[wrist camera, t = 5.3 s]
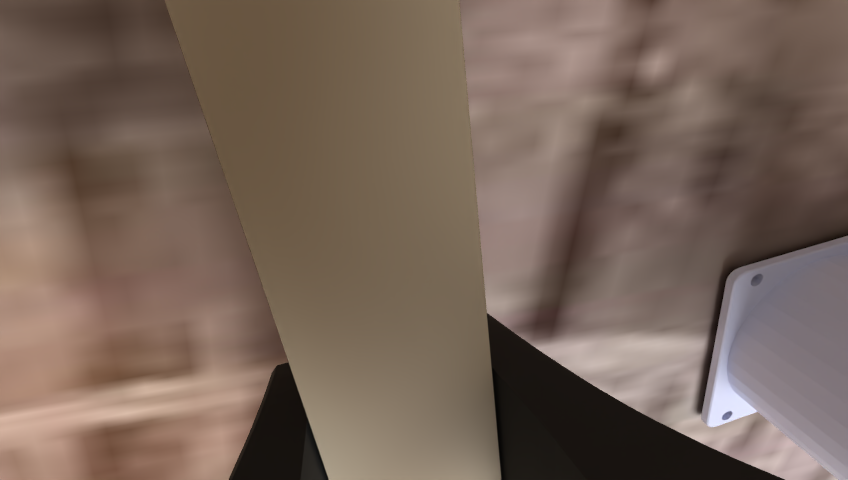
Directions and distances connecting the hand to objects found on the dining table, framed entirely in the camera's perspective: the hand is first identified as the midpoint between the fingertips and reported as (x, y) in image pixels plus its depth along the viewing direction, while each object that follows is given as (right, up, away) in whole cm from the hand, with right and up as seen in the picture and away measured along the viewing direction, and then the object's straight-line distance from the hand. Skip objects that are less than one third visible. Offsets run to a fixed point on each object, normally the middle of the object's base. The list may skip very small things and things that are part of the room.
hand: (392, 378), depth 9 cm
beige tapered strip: (-1, +1, +2) cm, 2 cm away
